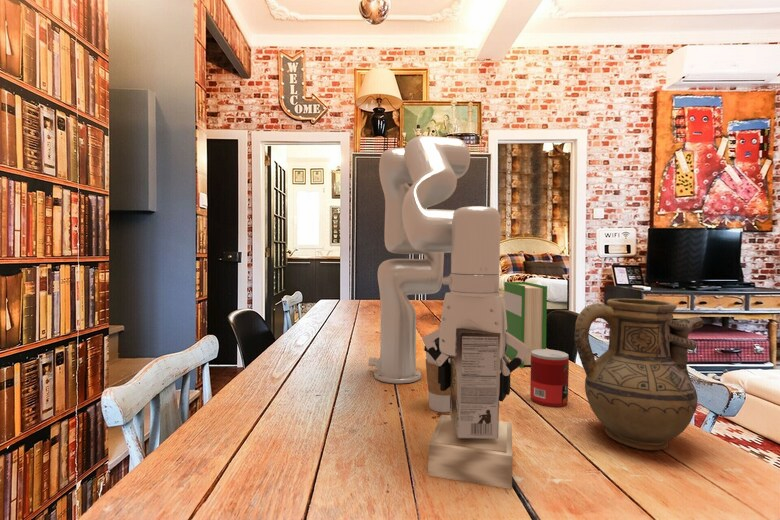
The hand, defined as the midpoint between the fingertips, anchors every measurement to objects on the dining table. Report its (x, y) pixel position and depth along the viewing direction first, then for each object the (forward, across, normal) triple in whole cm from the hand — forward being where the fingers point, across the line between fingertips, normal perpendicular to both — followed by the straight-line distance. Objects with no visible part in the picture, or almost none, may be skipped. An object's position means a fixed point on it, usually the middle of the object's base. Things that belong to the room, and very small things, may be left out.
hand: (472, 393), depth 66 cm
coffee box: (+6, 0, 0) cm, 6 cm away
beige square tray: (+11, 0, 0) cm, 11 cm away
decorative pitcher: (+11, +24, +22) cm, 34 cm away
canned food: (+11, +8, +35) cm, 37 cm away
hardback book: (+12, -3, +70) cm, 71 cm away
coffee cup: (+11, -12, +20) cm, 26 cm away
